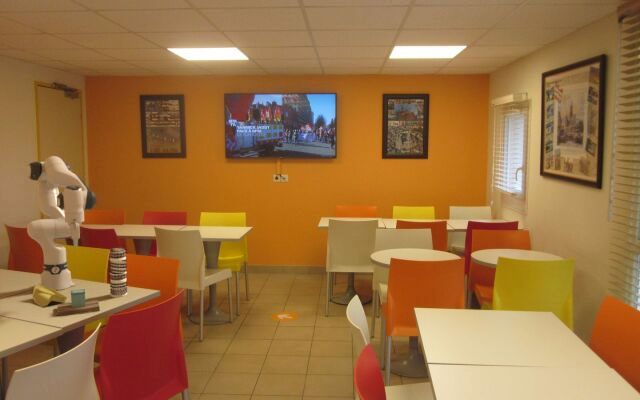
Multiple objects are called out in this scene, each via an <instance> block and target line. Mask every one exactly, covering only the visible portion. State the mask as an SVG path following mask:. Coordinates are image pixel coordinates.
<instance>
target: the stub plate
mask: <svg viewBox="0 0 640 400" xmlns="http://www.w3.org/2000/svg"><path fill="white" fill-rule="evenodd" d="M56 309H57V310H56V311H57V317H62V316H68V315H78V314H85V313H92V312H93V313H94V312H100V303H99V299H91V300H85V306H84V307H76V308H72V306H71V302H65V303H58V304H57V308H56Z"/></svg>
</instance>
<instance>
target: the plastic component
mask: <svg viewBox="0 0 640 400" xmlns="http://www.w3.org/2000/svg"><path fill="white" fill-rule="evenodd" d="M67 299H68V296H67V295H65V294H62V293H61V292H59V291H58V290H53V289H51V288H48V287H44V286H40V284H35V285H34V287H33V290H32V300H33V302H34V303H35V304H37V305H39V306H40V307H42V308H46V307H47V306H48V305H49V304H50V303H51V302H58V303H60V304H64V303H66V301H67Z"/></svg>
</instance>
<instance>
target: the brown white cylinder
mask: <svg viewBox="0 0 640 400" xmlns="http://www.w3.org/2000/svg"><path fill="white" fill-rule="evenodd" d="M127 261H128V259H127V257H126V250H125V248H123V247H115V248H111V251H110V250H109V260H108V266H109V268H108V269H109V275H110V283H109V284H110V286H109V287H110V289H109V290H110V292H109V293H110V297H112V298H121V297H124V296H127V295H128V287H127V286H128V281H127V273H128V272H127V271H128V270H127V269H126V268H128V266H127V265H128V263H127Z"/></svg>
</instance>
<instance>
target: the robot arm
mask: <svg viewBox="0 0 640 400" xmlns="http://www.w3.org/2000/svg"><path fill="white" fill-rule="evenodd" d="M26 173H27V176H28V178H29V179H30V180H32V181H36V182H37V181H39V182H38V183H37V201H38V207H39V211H40V212H41V214H43V215H46V216H48V217H50V218H44V219H43V218H41V219H37V220H33V221H30V222H28V225H27V228H26V232H27V234H28V236H29V237H30V238H31V239H32V240H34V241H35V242H37V244H39V245H40V247H41V249H42V252H43V266H42V269H43V272H41V274H40V284H39V285H40V286H44V287H48V288H51V289H53V290H55V291H58V290H59V291H60V290H65V289H69V288H70V287H75V286H76V283H75V282H74V281H72V276H71V271H70V270H69V269H68V266H69V265H68V261H67V250H66V247H65V246H64V245H62V244H60V243H56V242H55V241H54V239H61V238H69V237H71V240H72V243H73V247H74V248H78V247H79V240H80V238H81V237H80V236H81V235H80V234H81V233H80V226H81V225H83V224H82V223H83V222H85V211H87V210H89V211H90V210H92V209H94V207H96V205H97V203H98V200H97V196H96V193H95V192H94V191H93V190H91V189H90V188H89V186H88V185H87V184H86V183H85V182H84V181H83V179H82V178H81V177H80V176H79V175H78V174H76V173H73V172H72V169H71V165H70V164H69V163H67V162H64V161H63V159H62V158H61V157H59V156H56V155H52V156H51V155H50V156H49V157H47V158H45V161H32V162H31V163H29V164H28V165H27V169H26ZM59 187H62V188H64V190H63V192H60V191H59Z"/></svg>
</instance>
